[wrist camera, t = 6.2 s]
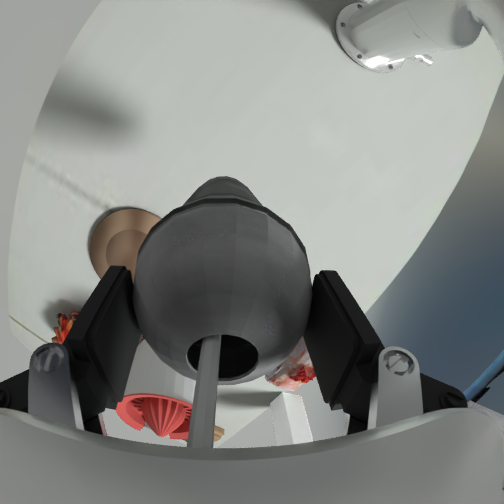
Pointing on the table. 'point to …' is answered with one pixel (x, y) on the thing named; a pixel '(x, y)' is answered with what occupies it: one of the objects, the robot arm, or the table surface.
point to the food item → (293, 369)
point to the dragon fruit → (63, 326)
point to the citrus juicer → (157, 396)
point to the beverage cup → (221, 293)
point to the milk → (290, 420)
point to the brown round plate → (120, 239)
